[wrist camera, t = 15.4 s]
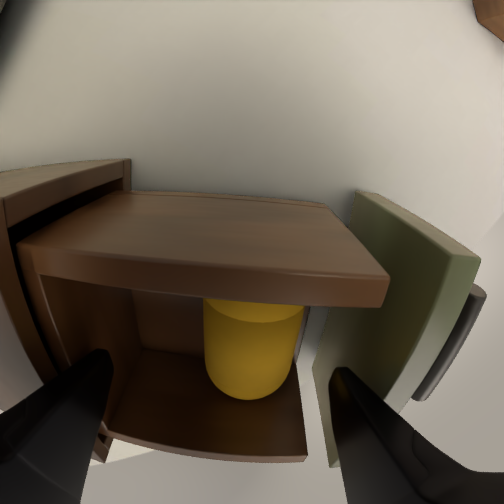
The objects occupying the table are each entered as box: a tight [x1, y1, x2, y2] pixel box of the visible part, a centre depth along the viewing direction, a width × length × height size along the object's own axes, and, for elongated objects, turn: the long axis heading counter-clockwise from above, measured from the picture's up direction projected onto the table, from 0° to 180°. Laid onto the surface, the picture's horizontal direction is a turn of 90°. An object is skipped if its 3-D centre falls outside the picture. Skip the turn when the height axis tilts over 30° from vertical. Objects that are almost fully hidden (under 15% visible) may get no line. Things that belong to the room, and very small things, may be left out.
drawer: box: [16, 190, 487, 468], centre depth 10 cm, size 16×10×7 cm
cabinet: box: [0, 159, 131, 463], centre depth 10 cm, size 13×12×9 cm
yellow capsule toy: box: [203, 298, 305, 400], centre depth 10 cm, size 7×4×4 cm, turn 175°
